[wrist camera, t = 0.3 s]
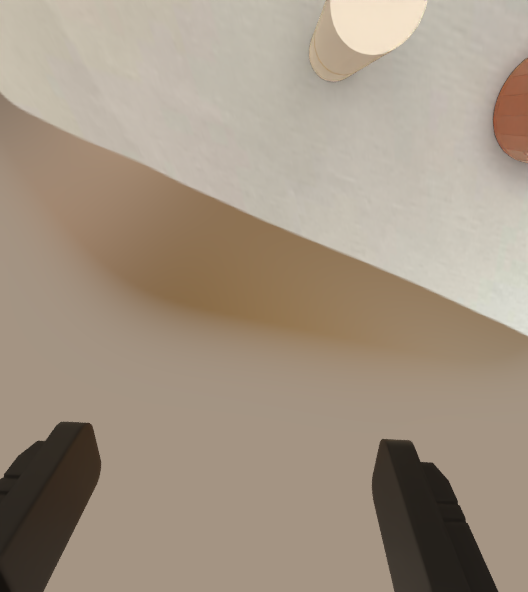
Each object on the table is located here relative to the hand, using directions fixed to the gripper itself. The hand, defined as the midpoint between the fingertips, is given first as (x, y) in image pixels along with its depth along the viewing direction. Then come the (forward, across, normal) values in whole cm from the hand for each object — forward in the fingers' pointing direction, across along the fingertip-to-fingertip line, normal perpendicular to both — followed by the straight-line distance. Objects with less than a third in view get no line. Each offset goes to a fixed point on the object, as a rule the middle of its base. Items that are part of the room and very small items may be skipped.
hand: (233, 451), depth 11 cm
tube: (+29, -5, -13) cm, 32 cm away
